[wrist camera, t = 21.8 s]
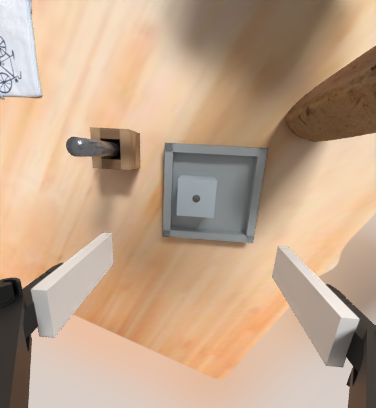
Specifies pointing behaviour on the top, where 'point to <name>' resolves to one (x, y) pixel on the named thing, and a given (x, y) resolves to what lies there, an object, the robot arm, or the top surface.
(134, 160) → the bored block
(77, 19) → the top surface
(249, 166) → the tray
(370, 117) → the block
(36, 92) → the folded bicycle print cloth
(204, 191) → the block
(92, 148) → the rod
